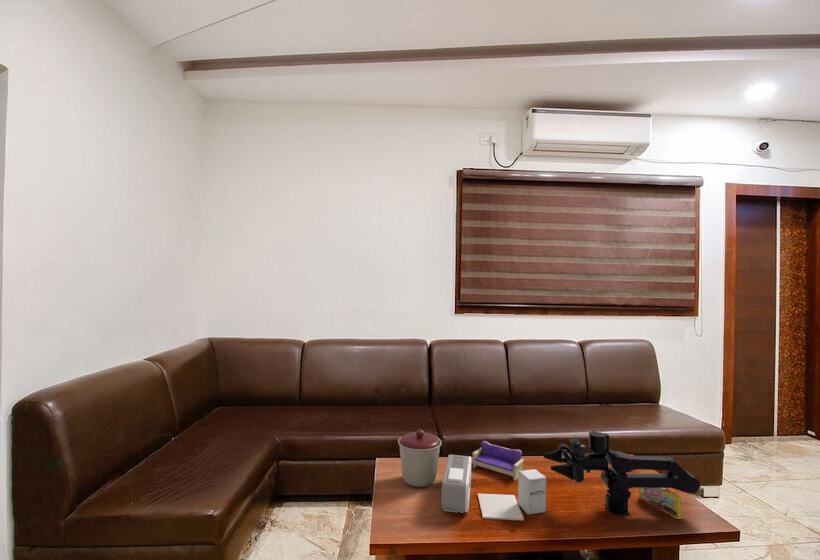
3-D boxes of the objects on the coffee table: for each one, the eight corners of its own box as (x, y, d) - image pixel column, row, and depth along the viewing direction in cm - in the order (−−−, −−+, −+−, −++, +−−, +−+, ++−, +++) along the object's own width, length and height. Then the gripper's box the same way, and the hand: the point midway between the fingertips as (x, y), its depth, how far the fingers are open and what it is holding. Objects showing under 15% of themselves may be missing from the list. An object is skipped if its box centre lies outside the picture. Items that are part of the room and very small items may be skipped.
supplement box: (528, 515, 143) (528, 479, 143) (517, 504, 150) (517, 470, 151) (546, 512, 145) (546, 477, 145) (534, 502, 152) (535, 468, 152)
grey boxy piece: (467, 518, 141) (468, 484, 141) (441, 515, 143) (441, 481, 143) (471, 481, 168) (471, 452, 168) (448, 479, 169) (449, 450, 170)
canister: (439, 494, 157) (440, 439, 157) (393, 489, 159) (394, 436, 160) (442, 473, 174) (443, 424, 175) (401, 469, 177) (402, 421, 178)
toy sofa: (471, 467, 181) (471, 444, 181) (480, 461, 188) (480, 439, 188) (516, 482, 168) (516, 457, 168) (524, 474, 175) (524, 451, 175)
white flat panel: (514, 496, 156) (514, 495, 156) (523, 520, 140) (523, 518, 140) (477, 494, 157) (477, 493, 157) (482, 518, 141) (483, 516, 141)
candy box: (637, 498, 157) (638, 476, 157) (642, 497, 158) (642, 475, 158) (678, 521, 142) (678, 497, 142) (682, 520, 142) (682, 496, 142)
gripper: (580, 430, 158) (539, 430, 159) (600, 451, 139) (554, 451, 140) (581, 458, 158) (540, 458, 159) (600, 483, 140) (554, 483, 141)
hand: (547, 461), depth 150 cm, fingers open, 9 cm apart
